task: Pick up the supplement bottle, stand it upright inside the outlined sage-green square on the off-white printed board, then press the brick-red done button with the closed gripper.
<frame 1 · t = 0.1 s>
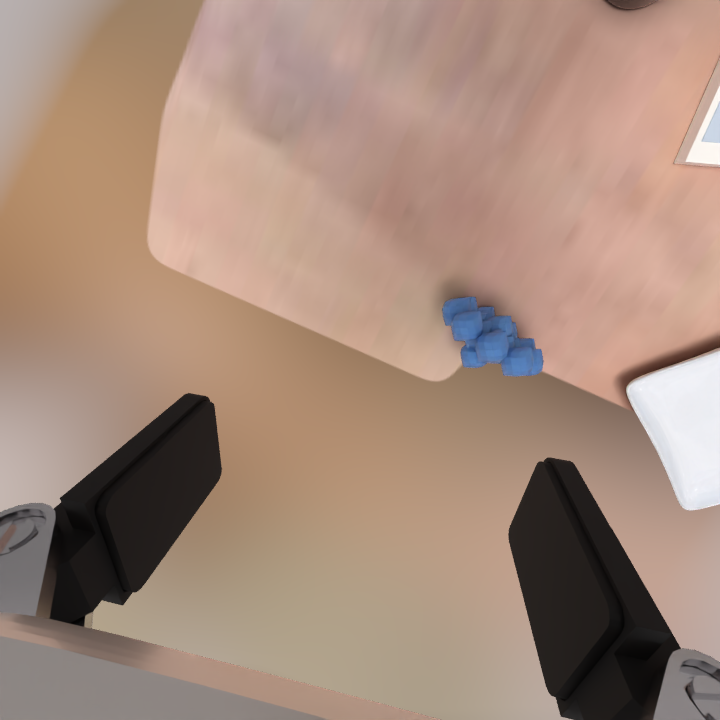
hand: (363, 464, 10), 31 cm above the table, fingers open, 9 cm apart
grapes: (476, 322, 39), on the table
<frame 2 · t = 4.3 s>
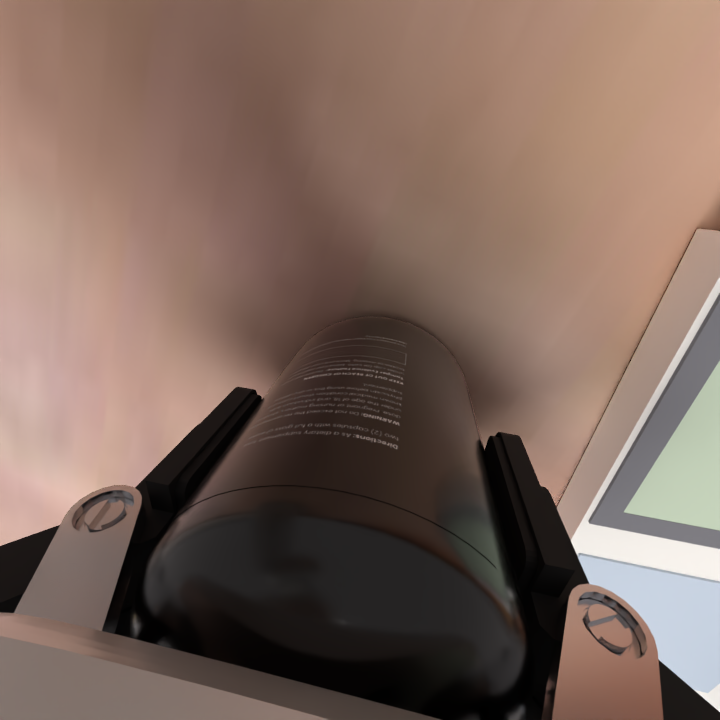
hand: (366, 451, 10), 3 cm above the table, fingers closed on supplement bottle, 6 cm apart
supplement bottle: (378, 393, 13), on the table, touching gripper
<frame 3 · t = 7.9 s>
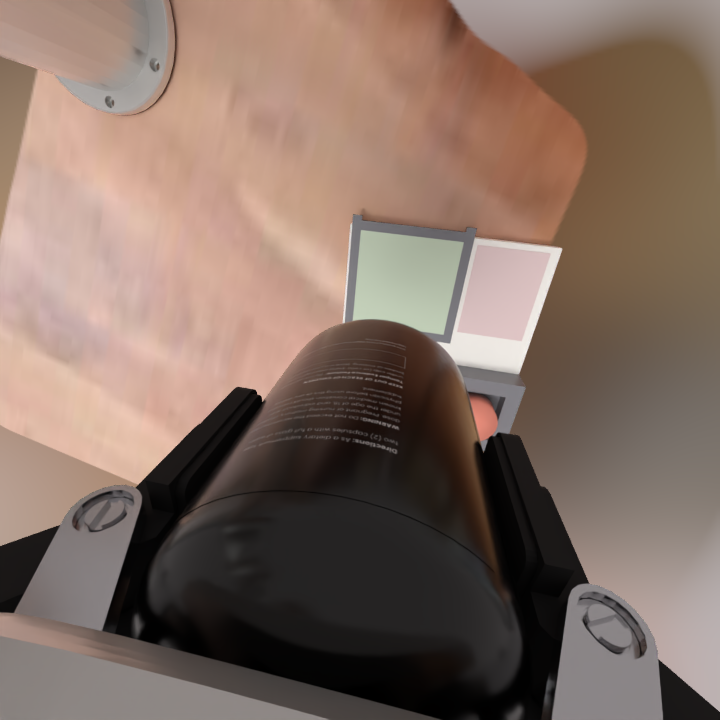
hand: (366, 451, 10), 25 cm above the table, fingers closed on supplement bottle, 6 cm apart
printed board: (430, 336, 35), on the table
done button: (471, 417, 33), point 4 cm above the table, slide at 0.0 cm
done button housing: (468, 401, 36), resting on printed board
supplement bottle: (377, 395, 13), point 22 cm above the table, touching gripper
when the fingers open (6 cm above the table, at t = 11.9 s): supplement bottle drops 1 cm, resting on printed board.
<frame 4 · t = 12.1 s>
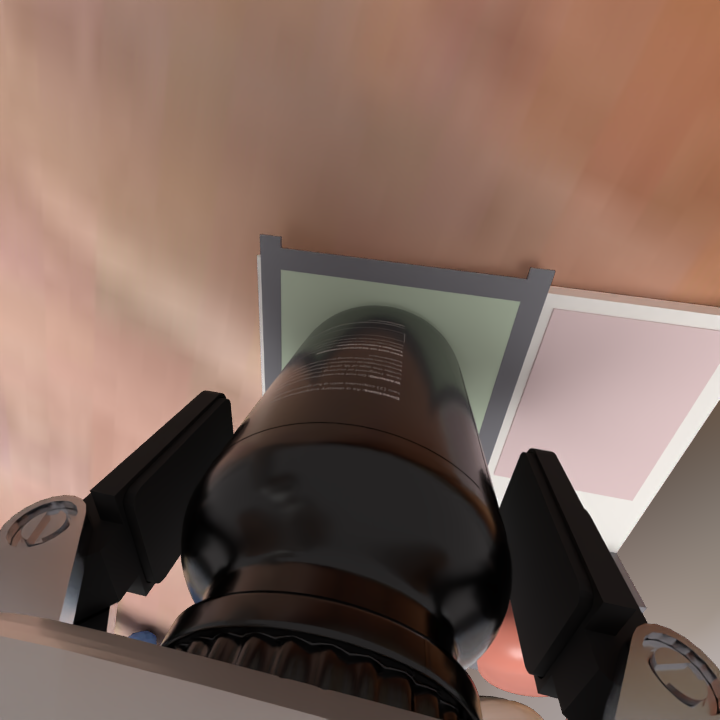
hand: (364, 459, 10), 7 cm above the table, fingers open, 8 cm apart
printed board: (438, 466, 18), on the table
done button: (522, 645, 16), point 4 cm above the table, slide at 0.0 cm
done button housing: (508, 583, 19), resting on printed board
supplement bottle: (379, 377, 15), point 1 cm above the table, touching printed board
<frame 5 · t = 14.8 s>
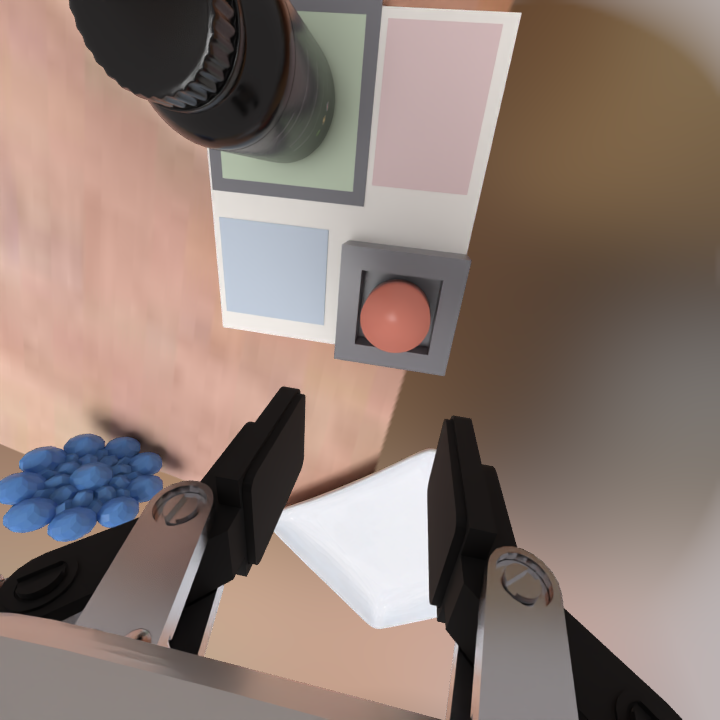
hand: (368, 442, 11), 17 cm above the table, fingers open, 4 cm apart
printed board: (341, 206, 24), on the table
done button: (395, 316, 22), point 4 cm above the table, slide at 0.0 cm
done button housing: (398, 303, 25), resting on printed board
supplement bottle: (284, 102, 21), point 1 cm above the table, touching printed board
salad plate: (401, 528, 38), on the table
grapes: (135, 445, 38), on the table
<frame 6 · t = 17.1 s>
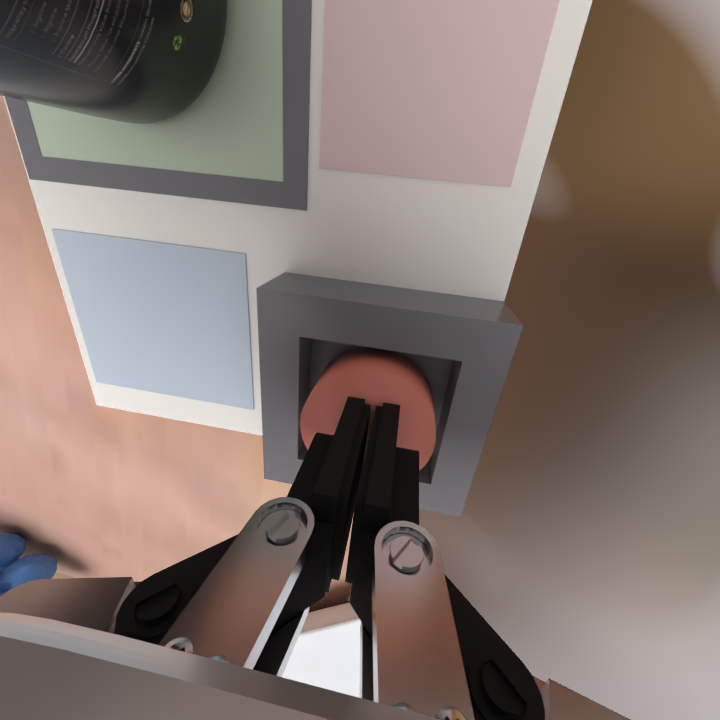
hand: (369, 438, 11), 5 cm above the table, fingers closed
printed board: (273, 209, 13), on the table
done button: (370, 416, 12), point 4 cm above the table, slide at 0.4 cm, touching gripper
done button housing: (378, 381, 14), resting on printed board
salad plate: (391, 656, 27), on the table
grapes: (22, 540, 28), on the table
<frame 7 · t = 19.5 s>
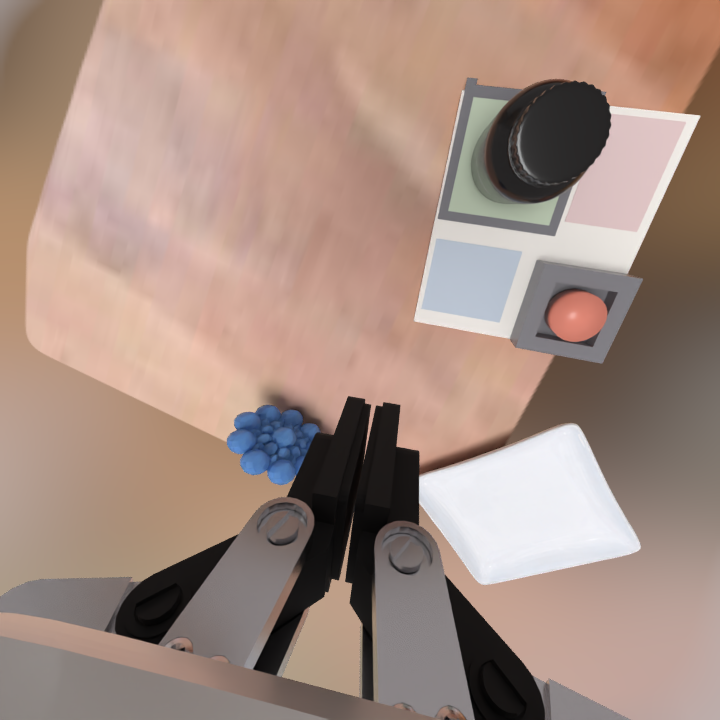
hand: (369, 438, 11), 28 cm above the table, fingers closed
printed board: (528, 234, 32), on the table
done button: (574, 315, 31), point 4 cm above the table, slide at 0.5 cm
done button housing: (564, 308, 33), resting on printed board
supplement bottle: (511, 161, 29), point 1 cm above the table, touching printed board
salad plate: (515, 496, 45), on the table
grapes: (294, 418, 46), on the table
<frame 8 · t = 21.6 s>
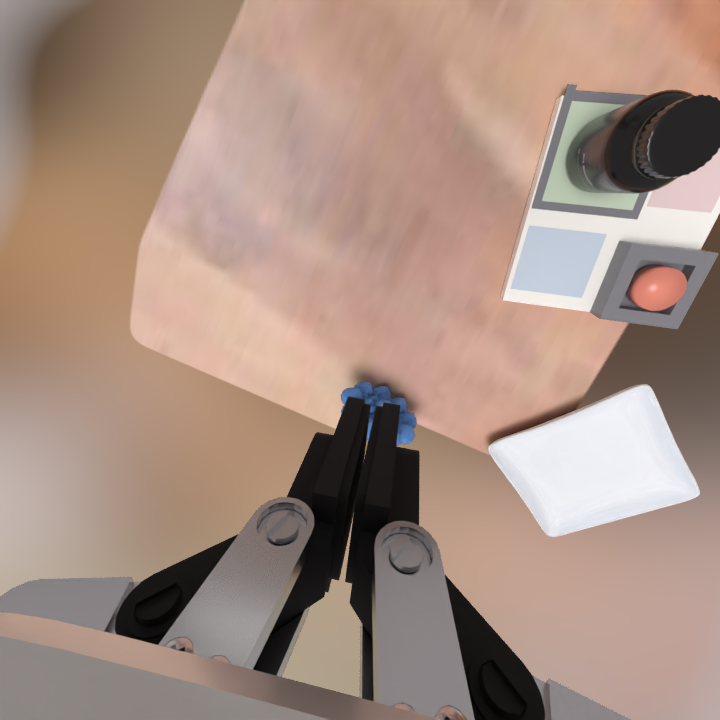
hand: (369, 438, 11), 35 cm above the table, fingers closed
printed board: (610, 218, 37), on the table
done button: (655, 287, 36), point 4 cm above the table, slide at 0.5 cm
done button housing: (641, 282, 38), resting on printed board
supplement bottle: (601, 155, 34), point 1 cm above the table, touching printed board
salad plate: (581, 455, 51), on the table
grapes: (380, 394, 51), on the table
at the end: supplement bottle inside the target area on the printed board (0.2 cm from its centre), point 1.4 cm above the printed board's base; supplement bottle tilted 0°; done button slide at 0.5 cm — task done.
